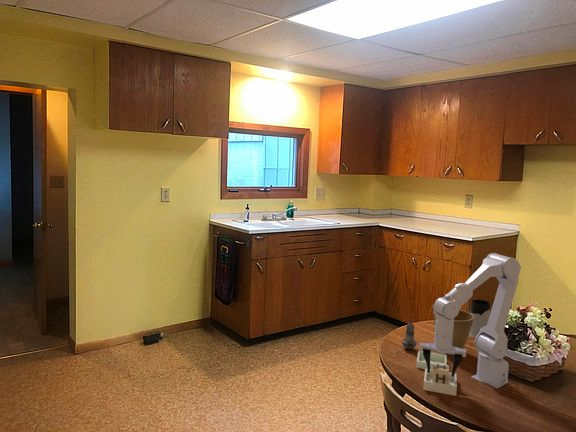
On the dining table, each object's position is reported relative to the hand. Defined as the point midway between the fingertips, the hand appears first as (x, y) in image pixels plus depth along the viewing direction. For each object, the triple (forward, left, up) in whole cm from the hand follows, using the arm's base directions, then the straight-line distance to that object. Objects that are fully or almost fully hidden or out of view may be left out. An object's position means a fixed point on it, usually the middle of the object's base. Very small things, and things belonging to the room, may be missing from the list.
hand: (440, 373), depth 156 cm
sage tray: (+11, -11, -4) cm, 16 cm away
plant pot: (+14, -28, -5) cm, 32 cm away
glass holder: (+21, -56, -5) cm, 60 cm away
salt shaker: (+25, -16, -5) cm, 30 cm away
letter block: (0, 0, -4) cm, 4 cm away
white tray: (0, 0, -4) cm, 4 cm away
